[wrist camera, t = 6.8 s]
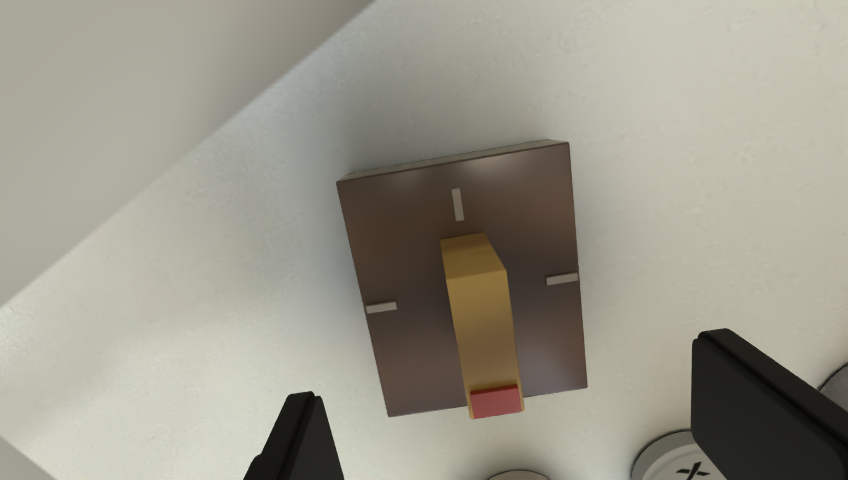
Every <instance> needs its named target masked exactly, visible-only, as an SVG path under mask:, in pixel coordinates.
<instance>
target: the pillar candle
mask: <svg viewBox="0 0 848 480" xmlns="http://www.w3.org/2000/svg"><path fill="white" fill-rule="evenodd" d="M819 392H820V393H822V394H823V395H825V396H826V397H827V398H829V399H830V400H832V401H833V402H835V403H836V404H838V405H839V406H840V407H842V408H843V409H845V410H846V411H848V366H846V367H844V368H843V369H842V370H840V371H839V372H837V373H836V374H835V375H834V376H833V377H832V378H831V379H830V380H829V381H828V382H827V383H826V384H825V386H824V387H823V388H822V389H821V390H820V391H819Z"/></svg>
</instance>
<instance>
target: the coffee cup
mask: <svg viewBox="0 0 848 480" xmlns="http://www.w3.org/2000/svg"><path fill="white" fill-rule="evenodd" d="M489 480H549V479H548V478H546V477H544V476H542V475H540V474H537V473H534V472H530V471H509V472H505V473H501V474H499V475H496V476H494V477H492V478H490V479H489Z"/></svg>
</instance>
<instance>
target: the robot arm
mask: <svg viewBox="0 0 848 480" xmlns="http://www.w3.org/2000/svg"><path fill="white" fill-rule="evenodd" d="M691 432H692V436H693V438H694V440H695V442H696V443H697V445H698V446H699V447H700V449H701V450H702V451H703V452H704V453H705V454H706V456H707V457H708V458H709V459H710V460H711V462H712V463H713V464H714V465H715V466H716V468H717V469H718V470H719V471H720V472H721V474H722V475H723V476H724V477H725V478H726V479H727V480H848V411H846V410H845V409H843V408H842V407H840V406H839V405H838V404H836V403H835V402H833V401H832V400H830V399H829V398H827V397H826V396H825V395H823V394H822V393H820V392H819V391H817V390H816V389H815V388H813V387H812V386H810V385H809V384H807V383H806V382H805V381H803V380H802V379H800V378H799V377H797V376H796V375H794V374H793V373H792V372H790V371H789V370H787V369H786V368H784V367H783V366H782V365H780V364H779V363H777V362H776V361H774V360H773V359H772V358H770V357H769V356H767V355H766V354H764V353H763V352H761V351H760V350H759V349H757V348H756V347H754V346H753V345H751V344H750V343H749V342H747V341H746V340H744V339H743V338H741V337H740V336H739V335H737V334H736V333H734V332H733V331H731V330H729V329H727V328H723V329H716V330H710V331H703V332H701V333H699V335H698V339H694V340H693V343H692V383H691ZM243 480H344V476H343V472H342V469H341V465H340V462H339V458H338V454H337V451H336V447H335V444H334V440H333V436H332V433H331V429H330V425H329V422H328V418H327V415H326V411H325V407H324V404H323V400H322V398H321V396H315V395H314V393H313V392H312V391H309V392H302V393H296V394H290V395H288V397H287V398H286V401H285V403H284V405H283V407H282V409H281V411H280V414H279V416H278V418H277V420H276V422H275V424H274V427H273V429H272V431H271V433H270V435H269V438H268V440H267V442H266V444H265V446H264V448H263V451H262V453H261V454H260V455H257V456H256V457H255V458H254V459H253V461H252V463H251V464H250V467H249V469H248V471H247V473H246V475H245V477H244V479H243Z"/></svg>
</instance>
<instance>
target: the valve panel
mask: <svg viewBox="0 0 848 480" xmlns="http://www.w3.org/2000/svg"><path fill="white" fill-rule="evenodd" d="M336 185H337V189H338V194H339V198H340V203H341V207H342V212H343V216H344V221H345V225H346V230H347V234H348V239H349V243H350V248H351V252H352V257H353V261H354V266H355V270H356V275H357V279H358V284H359V288H360V293H361V297H362V302H363V306H364V311H365V315H366V320H367V324H368V329H369V333H370V338H371V342H372V347H373V351H374V356H375V360H376V365H377V369H378V374H379V378H380V383H381V387H382V392H383V396H384V401H385V405H386V410H387V414H388V417H396V416H403V415H410V414H416V413H423V412H430V411H437V410H443V409H450V408H457V407H464V406H468V404H467V399H466V393H465V387H464V381H463V376H462V370H461V364H460V358H459V352H458V347H457V341H456V335H455V329H454V324H453V318H452V312H451V306H450V300H449V295H448V289H447V283H446V277H445V271H444V264H443V258H442V252H441V246H440V240H441V239H447V238H453V237H459V236H465V235H470V234H476V233H482V232H484V233H485V235H486V236H487V238H488V240H489V242H490V243H491V245H492V247H493V248H494V250H495V252H496V254H497V255H498V257H499V259H500V261H501V262H502V264H503V266H504V267H505V269H506V272H507V280H508V287H509V295H510V302H511V310H512V318H513V325H514V333H515V340H516V348H517V355H518V363H519V371H520V378H521V386H522V393H523V398H524V397H531V396H538V395H544V394H551V393H558V392H565V391H571V390H578V389H585V388H587V387H588V385H587V372H586V359H585V345H584V332H583V319H582V306H581V293H580V279H579V266H578V253H577V240H576V227H575V213H574V200H573V187H572V174H571V161H570V147H569V142H565V141H557V140H549V139H547V140H541V141H535V142H529V143H523V144H517V145H512V146H506V147H500V148H494V149H488V150H482V151H476V152H471V153H465V154H459V155H453V156H447V157H441V158H435V159H430V160H424V161H418V162H412V163H406V164H400V165H394V166H389V167H383V168H377V169H371V170H365V171H359V172H353V173H348V174H347V175H345V176H344V177H342V178H341V179H340V180H338V181H337V182H336Z"/></svg>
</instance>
